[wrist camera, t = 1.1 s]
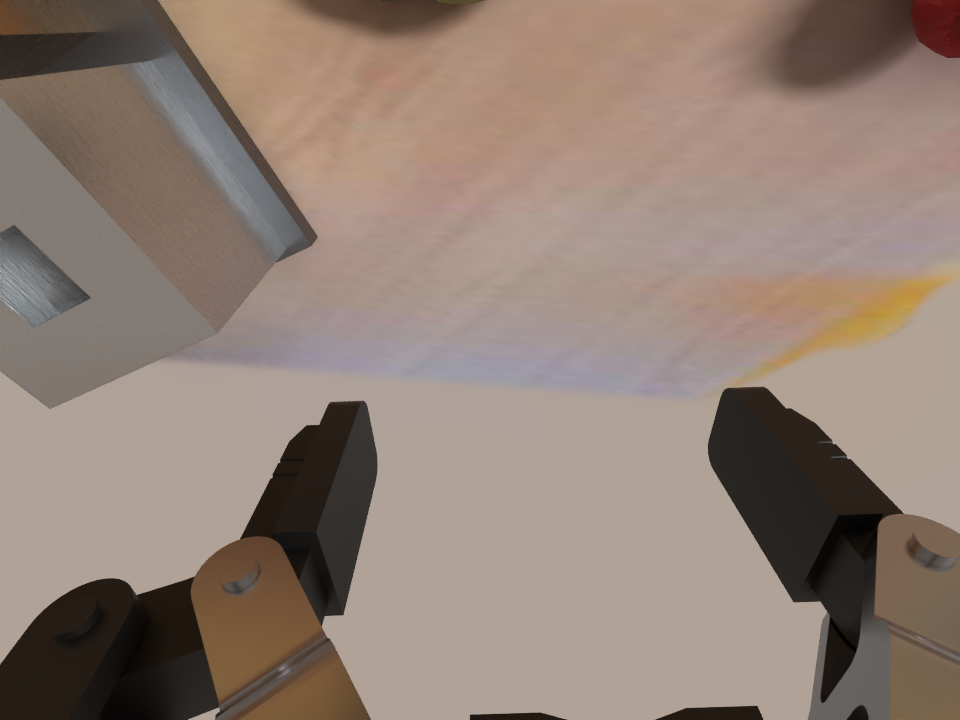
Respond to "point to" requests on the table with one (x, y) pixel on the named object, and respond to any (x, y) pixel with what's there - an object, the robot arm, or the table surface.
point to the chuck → (121, 196)
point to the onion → (938, 25)
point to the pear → (454, 1)
